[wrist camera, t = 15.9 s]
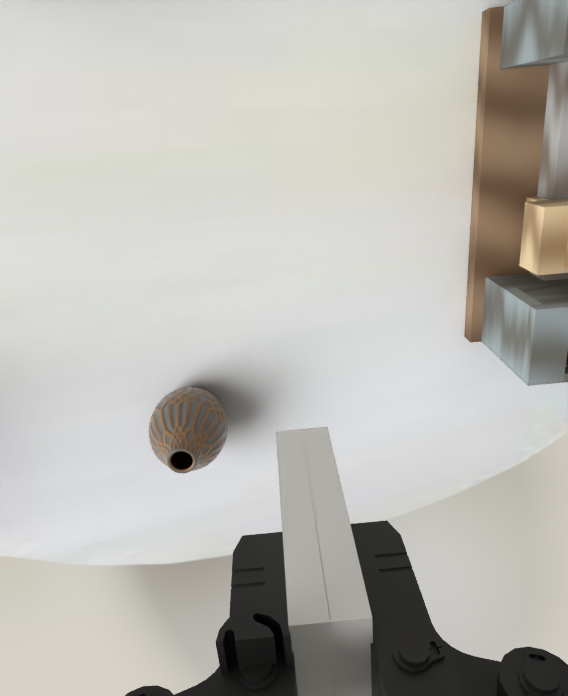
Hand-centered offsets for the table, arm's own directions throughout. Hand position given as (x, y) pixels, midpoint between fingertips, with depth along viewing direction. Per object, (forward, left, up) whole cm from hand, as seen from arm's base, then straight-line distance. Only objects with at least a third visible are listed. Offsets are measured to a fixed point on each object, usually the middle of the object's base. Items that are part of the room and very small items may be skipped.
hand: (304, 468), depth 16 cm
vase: (+15, -9, -33) cm, 37 cm away
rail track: (-3, +23, -32) cm, 40 cm away
